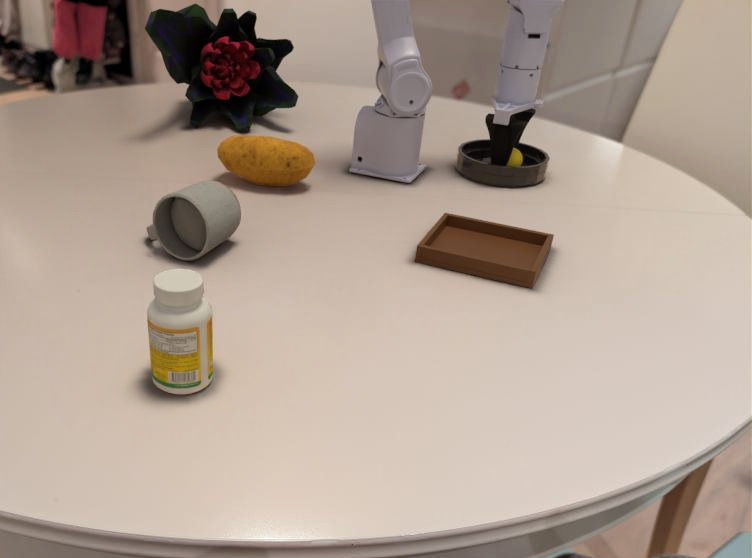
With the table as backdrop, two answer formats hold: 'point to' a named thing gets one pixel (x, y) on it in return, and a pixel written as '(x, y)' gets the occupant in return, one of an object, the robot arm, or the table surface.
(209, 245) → the ceramic mug
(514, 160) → the light bulb
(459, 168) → the pan
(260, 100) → the decorative plant
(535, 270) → the tray
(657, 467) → the table surface
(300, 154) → the potato
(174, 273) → the supplement bottle
